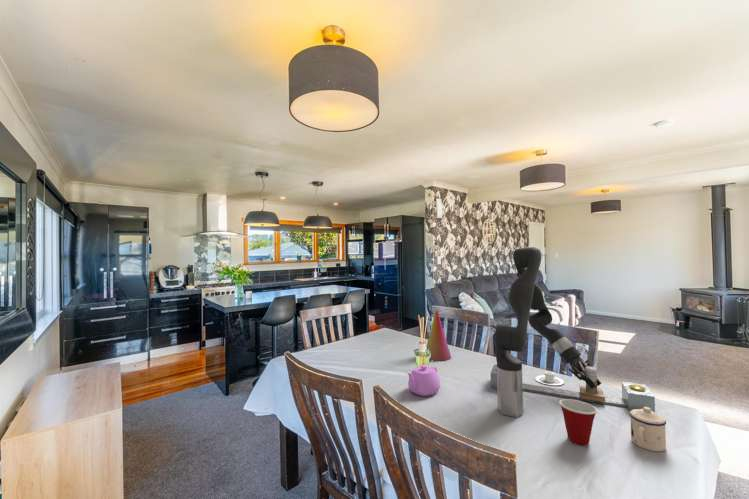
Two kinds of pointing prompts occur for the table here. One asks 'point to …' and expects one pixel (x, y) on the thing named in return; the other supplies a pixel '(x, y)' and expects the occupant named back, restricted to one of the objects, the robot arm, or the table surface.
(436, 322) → the decorative cone
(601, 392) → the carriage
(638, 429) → the teacup with lid
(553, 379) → the candle holder
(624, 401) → the rail
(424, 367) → the teapot
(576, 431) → the plastic cup
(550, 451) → the table surface
